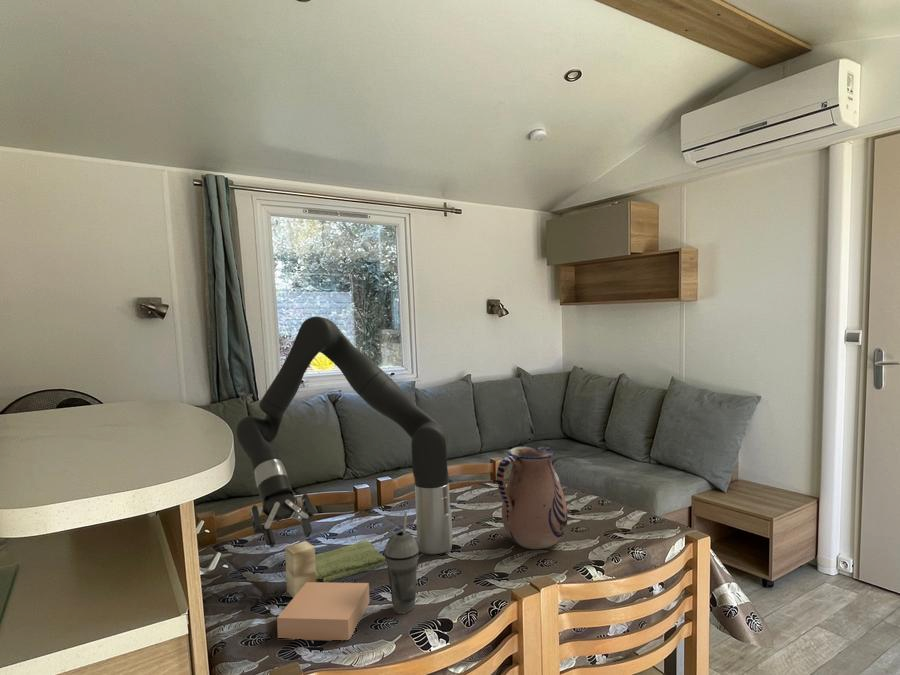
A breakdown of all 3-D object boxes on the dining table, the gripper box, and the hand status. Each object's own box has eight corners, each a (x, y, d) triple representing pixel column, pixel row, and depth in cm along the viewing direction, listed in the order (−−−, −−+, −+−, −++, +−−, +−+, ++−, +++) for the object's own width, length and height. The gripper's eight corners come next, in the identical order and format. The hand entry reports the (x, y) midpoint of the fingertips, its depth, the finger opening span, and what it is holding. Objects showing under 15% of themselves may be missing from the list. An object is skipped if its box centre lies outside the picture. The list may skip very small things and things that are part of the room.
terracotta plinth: (369, 601, 107) (368, 583, 107) (348, 641, 93) (348, 619, 93) (307, 600, 109) (306, 582, 109) (277, 639, 95) (277, 618, 95)
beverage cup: (387, 599, 108) (383, 507, 108) (421, 597, 108) (417, 505, 108) (385, 618, 100) (381, 519, 100) (421, 615, 101) (417, 516, 101)
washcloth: (304, 565, 127) (304, 553, 127) (370, 549, 136) (370, 537, 136) (317, 587, 116) (316, 573, 116) (388, 567, 124) (387, 554, 124)
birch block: (307, 583, 117) (306, 540, 117) (316, 591, 113) (314, 547, 113) (286, 590, 114) (285, 547, 114) (295, 599, 110) (293, 553, 110)
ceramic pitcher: (581, 540, 135) (577, 447, 135) (537, 568, 119) (533, 464, 119) (527, 525, 147) (523, 440, 147) (481, 549, 131) (477, 455, 131)
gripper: (246, 479, 120) (263, 541, 111) (303, 468, 129) (323, 524, 120) (241, 496, 124) (257, 557, 115) (296, 484, 133) (315, 540, 124)
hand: (291, 540), depth 118 cm, fingers open, 8 cm apart
